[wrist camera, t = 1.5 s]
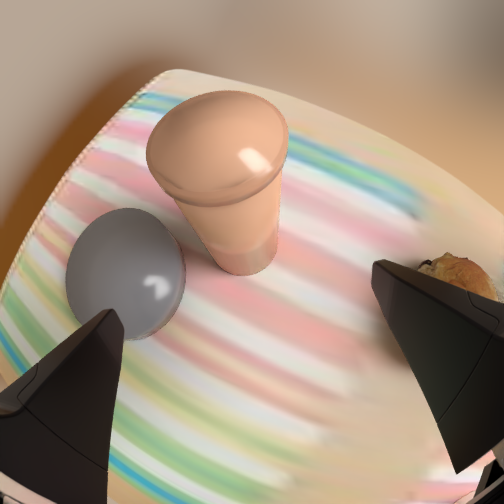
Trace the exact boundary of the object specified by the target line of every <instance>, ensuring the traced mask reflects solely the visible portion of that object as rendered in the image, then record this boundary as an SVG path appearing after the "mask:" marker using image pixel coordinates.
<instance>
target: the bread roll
mask: <svg viewBox="0 0 504 504" xmlns="http://www.w3.org/2000/svg"><path fill="white" fill-rule="evenodd" d="M417 271H419V272H421V273H424V274H427V275H429V276H432V277H435V278H437V279H440V280H442V281H445V282H448V283H450V284H453V285H455V286H458V287H460V288H463V289H465V290H466V291H467V290H468V291H471V292H473V293H476V294H478V295H481V296H483V297H486V298H489V299H492V300H494V301H497V302H499V301H498V296H497V293H496V290H495V287H494V284H493V282H492V280H491V279H490V277H489V276H488V275H487V274H486V273H485V272H484V271H483V270H482V268H481V267H480V266H478V265H477V264H476V263H474V262H473V261H470V260H468V258H458V257H455V256H453V255H452V254H450V253H448V252H447V253H445V254H444V255H443V256H442V257H440V258H437V259H434V260H433V261H430V260H426V261H423V262H422V263H421V265H420V266H419V269H418V270H417Z"/></svg>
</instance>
